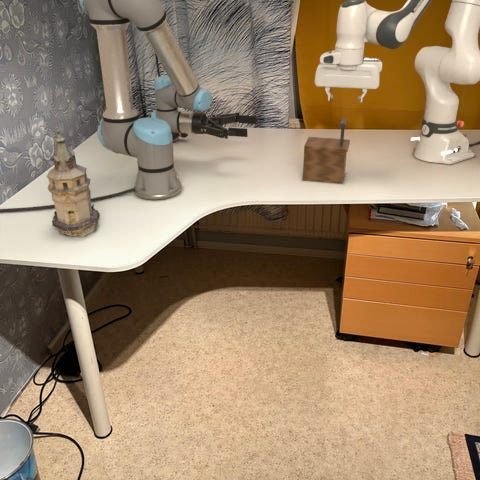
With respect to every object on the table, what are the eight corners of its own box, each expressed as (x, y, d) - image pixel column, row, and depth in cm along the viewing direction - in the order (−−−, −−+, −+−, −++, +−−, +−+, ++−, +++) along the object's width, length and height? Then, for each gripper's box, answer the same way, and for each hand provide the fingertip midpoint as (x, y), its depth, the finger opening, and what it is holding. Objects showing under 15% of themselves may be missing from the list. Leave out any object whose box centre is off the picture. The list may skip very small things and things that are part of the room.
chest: (344, 173, 189) (347, 142, 184) (342, 183, 181) (345, 152, 176) (306, 170, 193) (308, 139, 187) (302, 180, 184) (304, 149, 179)
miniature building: (80, 214, 164) (63, 117, 149) (111, 225, 157) (96, 125, 142) (44, 231, 154) (22, 130, 140) (75, 244, 147) (55, 139, 133)
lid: (349, 142, 184) (352, 116, 179) (347, 152, 176) (349, 125, 171) (308, 139, 187) (309, 114, 182) (304, 148, 179) (305, 122, 174)
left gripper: (205, 121, 203) (260, 125, 198) (182, 145, 182) (243, 149, 177) (204, 102, 199) (259, 105, 194) (180, 124, 178) (242, 127, 173)
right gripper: (383, 56, 166) (378, 100, 173) (317, 53, 171) (315, 97, 178) (383, 60, 161) (377, 105, 168) (315, 57, 165) (312, 102, 172)
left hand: (252, 126), depth 186 cm, fingers open, 13 cm apart
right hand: (345, 101), depth 173 cm, fingers open, 8 cm apart
